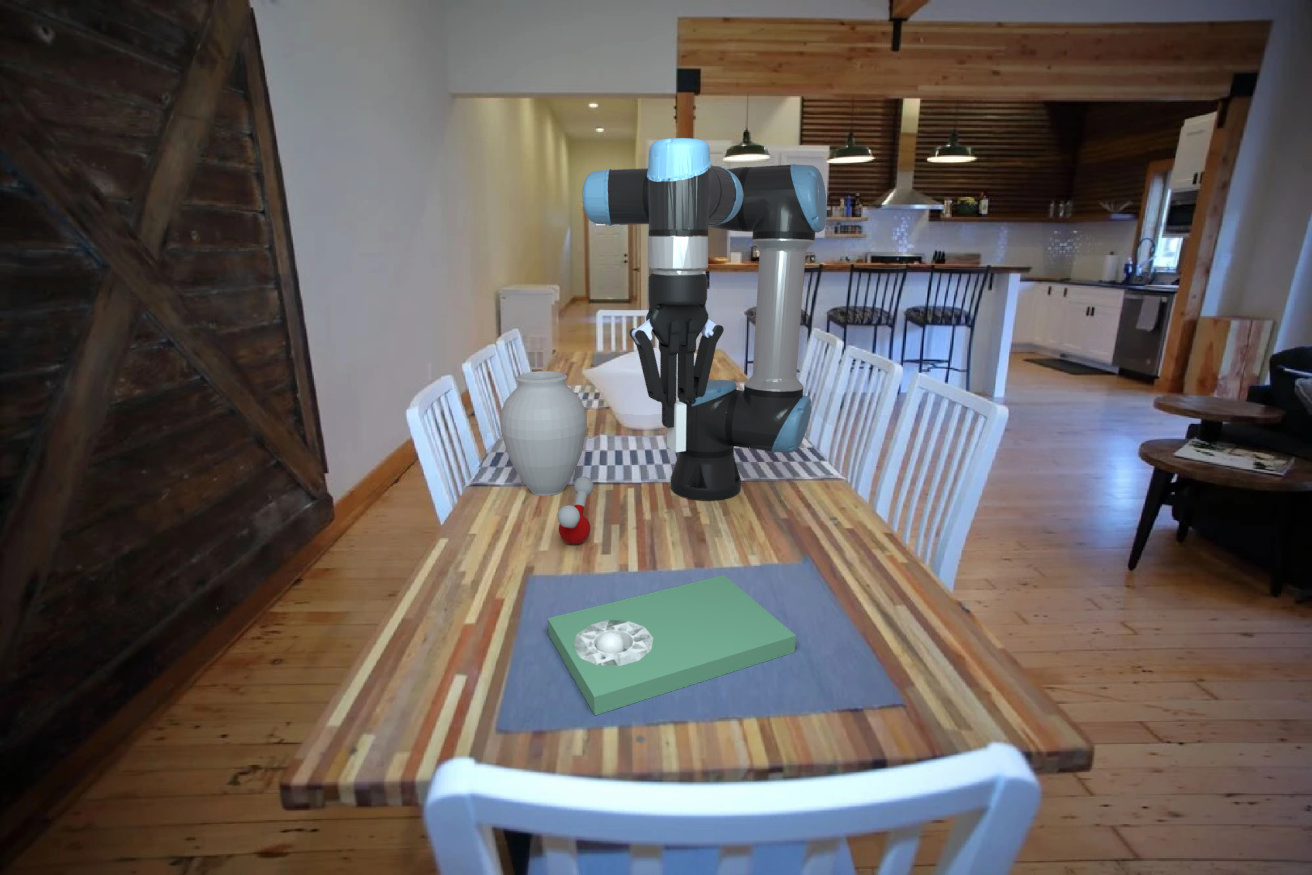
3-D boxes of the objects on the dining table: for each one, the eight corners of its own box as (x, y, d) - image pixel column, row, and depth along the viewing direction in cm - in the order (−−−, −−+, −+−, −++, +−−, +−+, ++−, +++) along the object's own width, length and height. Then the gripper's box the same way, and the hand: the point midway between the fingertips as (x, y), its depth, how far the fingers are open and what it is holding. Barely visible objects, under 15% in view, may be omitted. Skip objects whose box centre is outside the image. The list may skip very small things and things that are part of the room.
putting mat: (723, 589, 104) (724, 574, 103) (794, 652, 88) (796, 635, 87) (548, 634, 92) (547, 618, 91) (594, 715, 76) (594, 697, 76)
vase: (489, 488, 145) (480, 375, 137) (558, 470, 156) (553, 364, 149) (534, 513, 132) (527, 389, 125) (605, 490, 143) (602, 376, 136)
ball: (590, 646, 88) (608, 667, 87) (591, 643, 84) (610, 665, 84) (610, 627, 89) (628, 648, 88) (612, 623, 86) (631, 645, 85)
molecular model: (581, 566, 111) (579, 510, 108) (548, 565, 111) (545, 509, 108) (598, 523, 127) (597, 473, 125) (569, 522, 128) (567, 472, 125)
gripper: (707, 269, 91) (704, 435, 98) (619, 271, 86) (621, 447, 92) (737, 272, 84) (731, 450, 91) (643, 274, 79) (644, 463, 86)
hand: (676, 448), depth 92 cm, fingers closed
